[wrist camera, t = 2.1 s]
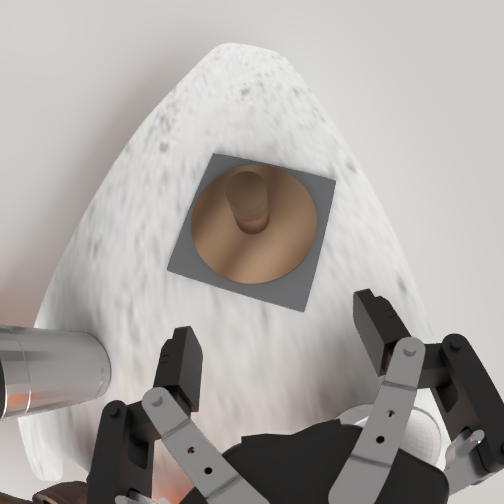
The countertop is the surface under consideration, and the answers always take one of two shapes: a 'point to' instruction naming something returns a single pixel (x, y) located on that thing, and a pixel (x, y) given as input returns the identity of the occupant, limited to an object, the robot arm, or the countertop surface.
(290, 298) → the rubber mat
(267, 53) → the countertop surface
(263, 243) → the walnut lid
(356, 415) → the teacup
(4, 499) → the mortar and pestle
